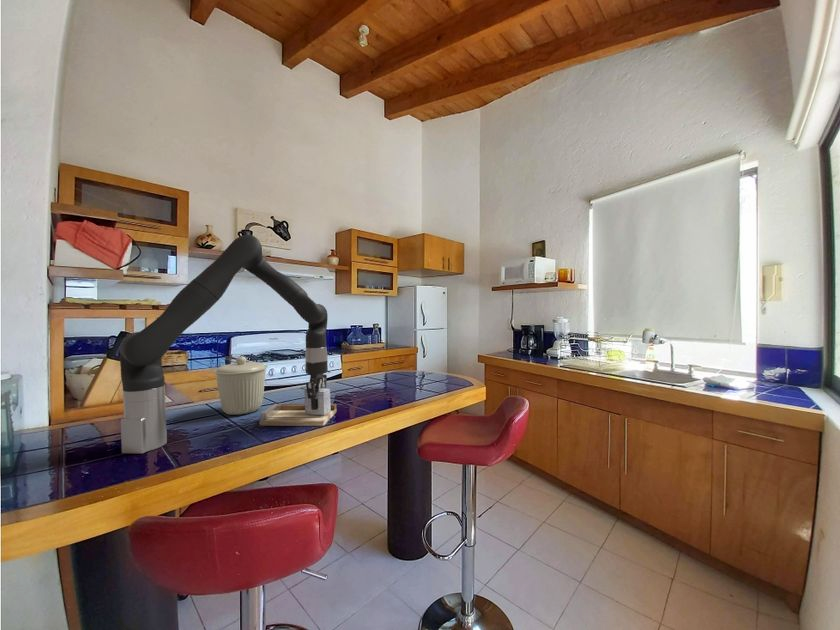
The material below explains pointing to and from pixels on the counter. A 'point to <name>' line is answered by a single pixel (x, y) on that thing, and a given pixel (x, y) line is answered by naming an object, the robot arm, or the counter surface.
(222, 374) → the canister
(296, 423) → the maple board
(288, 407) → the walnut fence
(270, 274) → the robot arm
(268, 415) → the end stop
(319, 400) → the medicine box
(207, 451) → the counter surface
